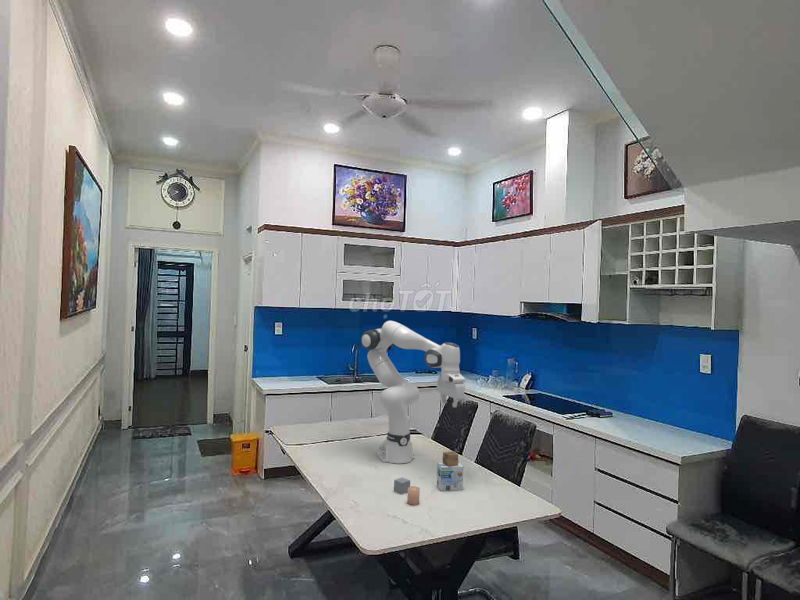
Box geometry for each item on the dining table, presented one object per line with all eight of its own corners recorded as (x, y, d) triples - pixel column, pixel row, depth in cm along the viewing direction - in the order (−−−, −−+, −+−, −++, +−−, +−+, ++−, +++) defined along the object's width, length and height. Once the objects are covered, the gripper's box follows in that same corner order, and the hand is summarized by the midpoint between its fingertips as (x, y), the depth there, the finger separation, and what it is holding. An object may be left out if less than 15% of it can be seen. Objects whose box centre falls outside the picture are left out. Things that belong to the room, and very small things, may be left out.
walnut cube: (442, 463, 230) (443, 452, 230) (452, 461, 232) (452, 450, 232) (448, 466, 225) (448, 455, 225) (458, 465, 227) (458, 454, 227)
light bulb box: (440, 491, 224) (440, 467, 224) (436, 485, 231) (436, 462, 231) (463, 490, 226) (464, 466, 226) (458, 484, 233) (459, 461, 233)
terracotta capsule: (405, 501, 212) (405, 487, 212) (415, 499, 214) (416, 485, 214) (410, 506, 207) (411, 491, 207) (421, 504, 209) (421, 489, 209)
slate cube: (393, 491, 223) (394, 479, 223) (401, 488, 226) (402, 477, 226) (402, 494, 219) (402, 483, 219) (409, 491, 223) (410, 480, 223)
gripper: (433, 373, 252) (433, 401, 252) (455, 380, 233) (454, 409, 234) (444, 373, 255) (444, 400, 255) (467, 379, 236) (466, 409, 236)
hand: (449, 405), depth 244 cm, fingers open, 8 cm apart
